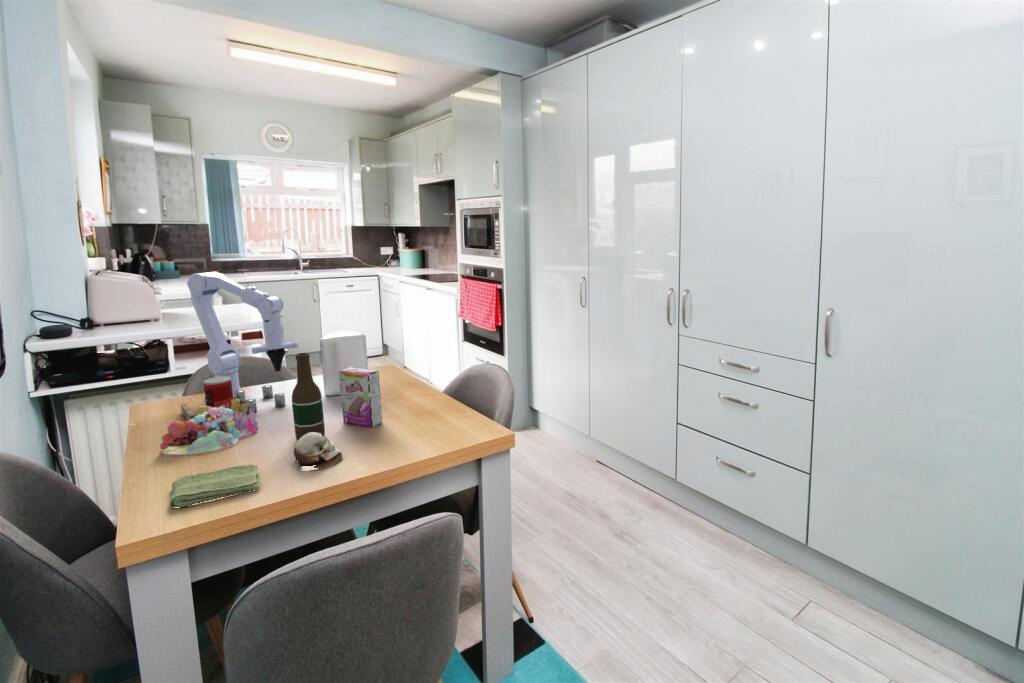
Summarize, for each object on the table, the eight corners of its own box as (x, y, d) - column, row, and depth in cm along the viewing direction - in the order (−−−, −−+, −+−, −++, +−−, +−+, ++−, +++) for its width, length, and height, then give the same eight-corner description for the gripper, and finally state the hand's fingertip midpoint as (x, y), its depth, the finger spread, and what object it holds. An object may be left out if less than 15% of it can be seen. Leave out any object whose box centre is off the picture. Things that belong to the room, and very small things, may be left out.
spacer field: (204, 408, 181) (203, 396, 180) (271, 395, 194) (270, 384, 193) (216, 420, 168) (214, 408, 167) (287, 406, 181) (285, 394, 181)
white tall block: (341, 384, 206) (336, 327, 202) (377, 385, 204) (373, 327, 200) (322, 396, 191) (316, 335, 187) (361, 397, 189) (356, 335, 185)
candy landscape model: (171, 431, 161) (166, 401, 159) (258, 418, 170) (255, 390, 168) (155, 462, 139) (150, 428, 137) (257, 446, 148) (253, 414, 146)
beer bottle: (297, 444, 147) (288, 358, 142) (294, 435, 154) (285, 352, 149) (327, 439, 151) (319, 354, 146) (323, 430, 157) (315, 349, 153)
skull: (332, 443, 145) (339, 422, 138) (342, 477, 140) (350, 458, 133) (284, 452, 138) (289, 431, 131) (294, 489, 133) (299, 469, 127)
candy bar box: (342, 423, 163) (337, 370, 160) (353, 418, 168) (349, 366, 164) (372, 428, 159) (368, 373, 155) (383, 422, 163) (379, 369, 160)
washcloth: (262, 492, 121) (261, 479, 120) (169, 513, 112) (167, 499, 112) (257, 471, 132) (256, 458, 131) (172, 489, 124) (170, 475, 123)
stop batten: (182, 413, 176) (180, 404, 176) (187, 412, 177) (186, 403, 177) (191, 425, 164) (190, 416, 164) (197, 424, 165) (196, 415, 165)
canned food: (239, 408, 180) (235, 376, 178) (225, 416, 172) (221, 382, 170) (217, 408, 180) (213, 376, 178) (202, 416, 173) (197, 382, 171)
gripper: (253, 336, 178) (258, 377, 180) (299, 330, 186) (303, 369, 189) (248, 333, 183) (252, 373, 186) (292, 328, 192) (296, 365, 194)
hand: (277, 371), depth 188 cm, fingers closed
